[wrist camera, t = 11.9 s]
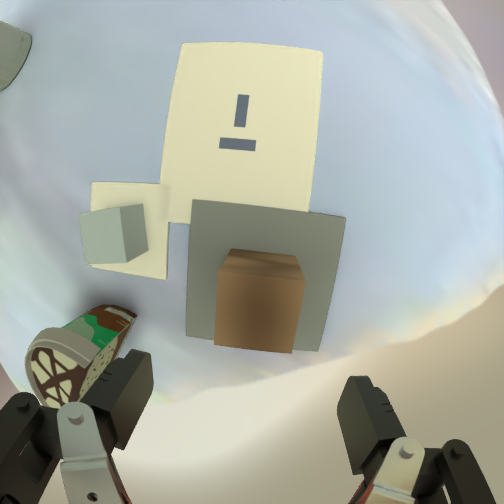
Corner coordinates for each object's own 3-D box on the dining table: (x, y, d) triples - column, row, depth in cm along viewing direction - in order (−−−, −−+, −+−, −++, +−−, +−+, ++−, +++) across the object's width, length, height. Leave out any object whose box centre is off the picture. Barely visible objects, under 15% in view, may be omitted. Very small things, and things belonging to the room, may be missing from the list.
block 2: (226, 306, 23) (213, 344, 17) (231, 248, 21) (218, 270, 16) (286, 313, 22) (291, 353, 17) (295, 255, 21) (305, 280, 15)
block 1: (110, 252, 22) (85, 264, 19) (104, 208, 22) (78, 213, 18) (148, 250, 22) (126, 263, 18) (143, 203, 21) (119, 207, 17)
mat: (187, 332, 24) (185, 335, 24) (194, 198, 21) (192, 199, 21) (317, 347, 24) (318, 351, 23) (343, 217, 21) (346, 218, 20)
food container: (94, 267, 23) (24, 305, 14) (143, 304, 24) (86, 363, 14) (68, 346, 26) (20, 391, 16) (107, 377, 26) (66, 431, 17)
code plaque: (158, 220, 22) (156, 220, 22) (183, 44, 18) (182, 43, 18) (304, 236, 22) (304, 237, 21) (322, 53, 18) (323, 51, 18)
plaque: (93, 266, 23) (91, 266, 23) (93, 181, 21) (92, 181, 21) (167, 278, 23) (165, 279, 23) (171, 184, 21) (170, 184, 21)
